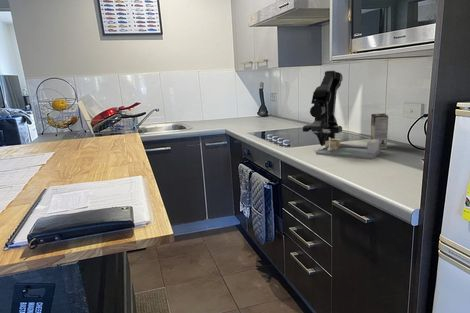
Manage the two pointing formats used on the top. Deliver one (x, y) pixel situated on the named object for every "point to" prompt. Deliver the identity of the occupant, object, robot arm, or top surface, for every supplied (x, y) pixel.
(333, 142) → the carriage
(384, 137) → the coffee box
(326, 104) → the robot arm
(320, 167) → the top surface
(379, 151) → the gauge base
